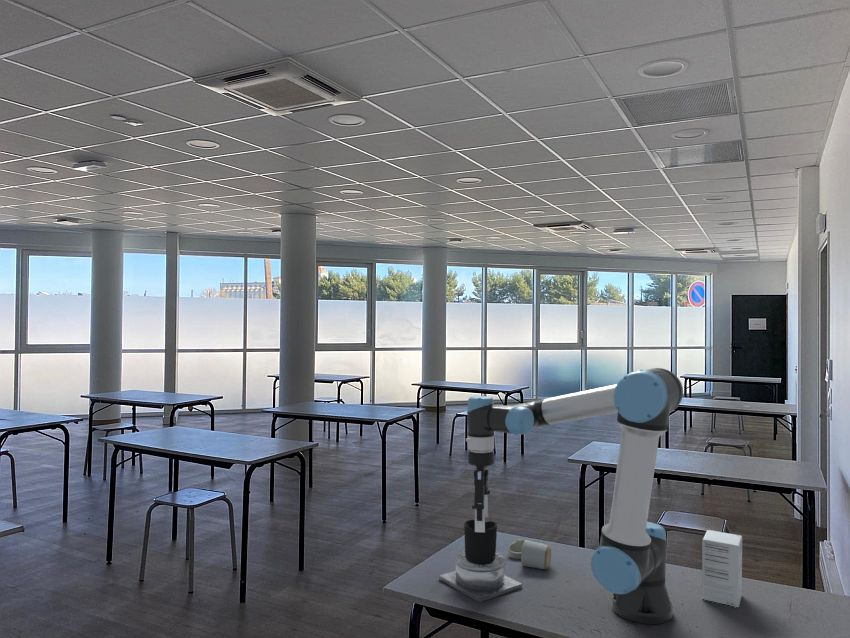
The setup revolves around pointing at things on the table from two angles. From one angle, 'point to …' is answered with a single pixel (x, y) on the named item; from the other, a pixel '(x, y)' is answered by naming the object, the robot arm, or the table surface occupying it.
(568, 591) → the table surface
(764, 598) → the table surface
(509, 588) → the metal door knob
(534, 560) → the ceramic mug
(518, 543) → the beige oval ring
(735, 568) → the supplement box
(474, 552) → the pen holder
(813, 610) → the table surface
